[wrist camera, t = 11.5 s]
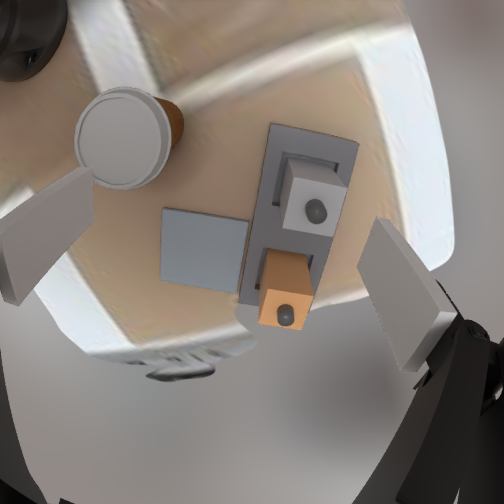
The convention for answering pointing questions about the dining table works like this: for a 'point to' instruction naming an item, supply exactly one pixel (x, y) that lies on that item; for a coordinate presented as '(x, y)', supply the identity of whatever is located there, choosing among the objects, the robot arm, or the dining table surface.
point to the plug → (284, 289)
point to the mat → (202, 249)
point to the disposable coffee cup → (126, 137)
